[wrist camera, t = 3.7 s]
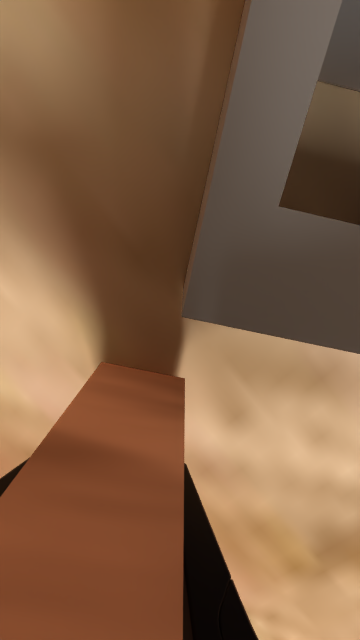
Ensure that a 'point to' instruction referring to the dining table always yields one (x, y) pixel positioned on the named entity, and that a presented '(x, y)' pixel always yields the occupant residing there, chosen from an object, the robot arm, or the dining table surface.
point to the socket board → (277, 185)
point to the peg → (100, 517)
